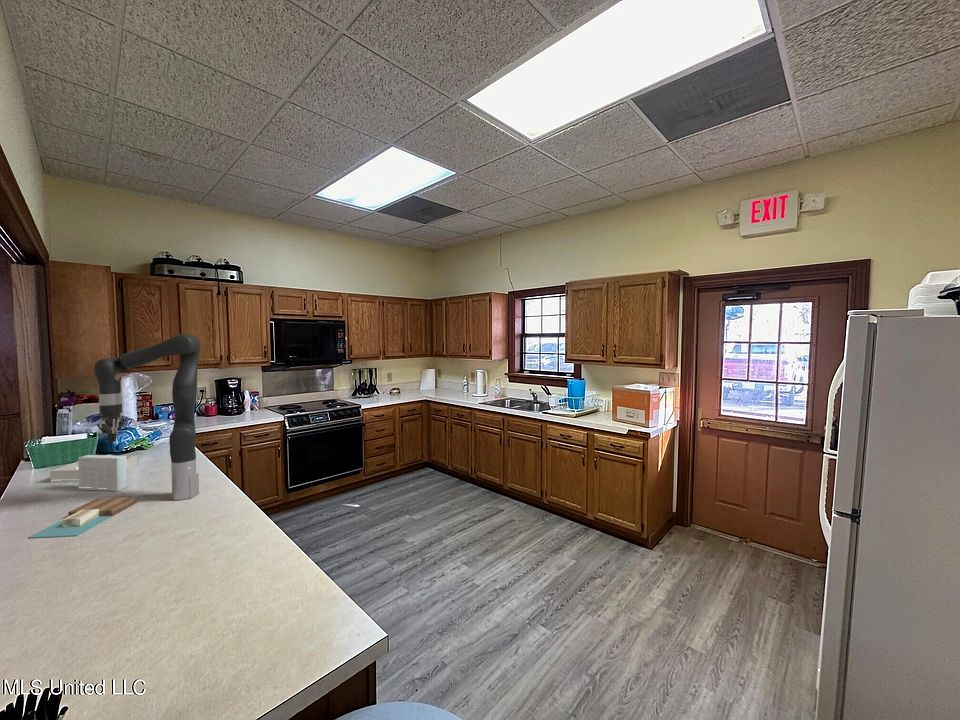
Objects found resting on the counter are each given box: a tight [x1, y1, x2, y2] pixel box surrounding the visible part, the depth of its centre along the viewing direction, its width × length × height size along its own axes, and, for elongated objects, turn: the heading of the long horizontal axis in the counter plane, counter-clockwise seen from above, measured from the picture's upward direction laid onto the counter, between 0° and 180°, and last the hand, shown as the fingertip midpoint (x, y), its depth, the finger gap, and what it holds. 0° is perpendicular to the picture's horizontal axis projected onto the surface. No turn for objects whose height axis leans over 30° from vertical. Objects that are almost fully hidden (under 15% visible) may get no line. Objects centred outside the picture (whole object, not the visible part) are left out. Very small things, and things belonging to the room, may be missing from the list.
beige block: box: [61, 509, 99, 527], centre depth 158 cm, size 6×9×3 cm, turn 8°
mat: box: [27, 516, 112, 539], centre depth 155 cm, size 16×16×1 cm
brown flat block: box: [67, 496, 138, 517], centre depth 170 cm, size 16×14×2 cm
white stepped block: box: [49, 455, 138, 484], centre depth 214 cm, size 24×24×6 cm
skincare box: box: [77, 454, 128, 492], centre depth 194 cm, size 21×5×16 cm, turn 84°
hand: (112, 441), depth 178 cm, fingers closed
